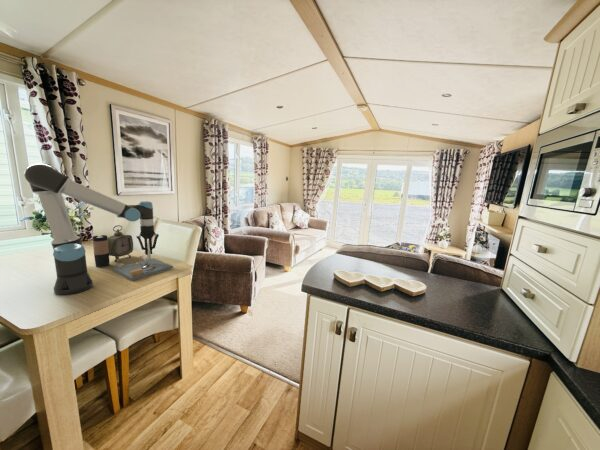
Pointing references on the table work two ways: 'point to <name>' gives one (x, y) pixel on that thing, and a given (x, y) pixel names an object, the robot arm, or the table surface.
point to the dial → (145, 263)
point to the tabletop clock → (120, 244)
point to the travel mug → (101, 251)
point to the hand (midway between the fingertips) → (149, 258)
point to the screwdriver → (138, 271)
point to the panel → (157, 268)
